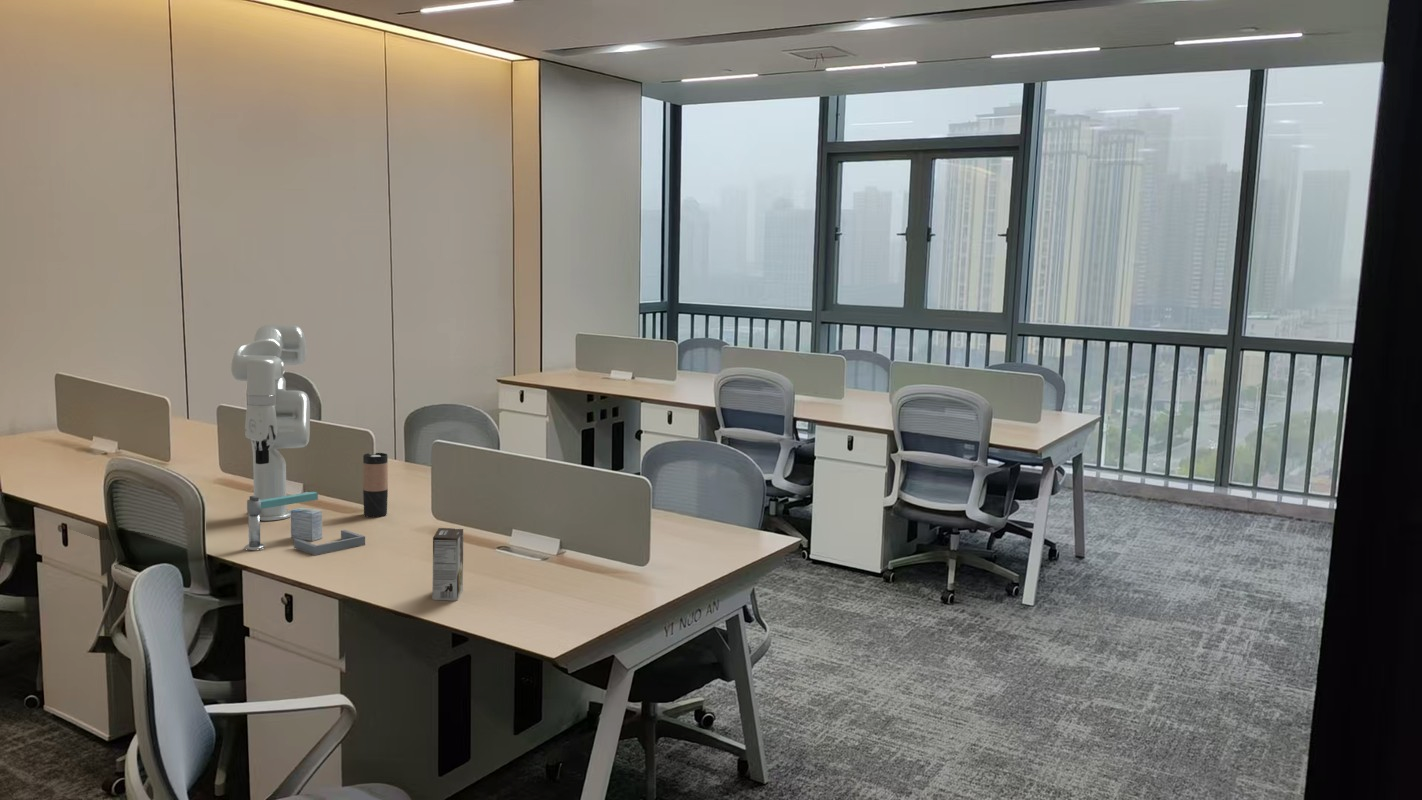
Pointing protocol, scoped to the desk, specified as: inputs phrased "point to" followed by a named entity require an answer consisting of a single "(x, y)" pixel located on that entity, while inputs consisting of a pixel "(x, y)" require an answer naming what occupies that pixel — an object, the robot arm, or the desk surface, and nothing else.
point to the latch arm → (277, 501)
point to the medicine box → (306, 524)
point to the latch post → (254, 533)
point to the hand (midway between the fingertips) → (262, 463)
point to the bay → (331, 544)
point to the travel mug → (375, 484)
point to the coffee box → (447, 564)
